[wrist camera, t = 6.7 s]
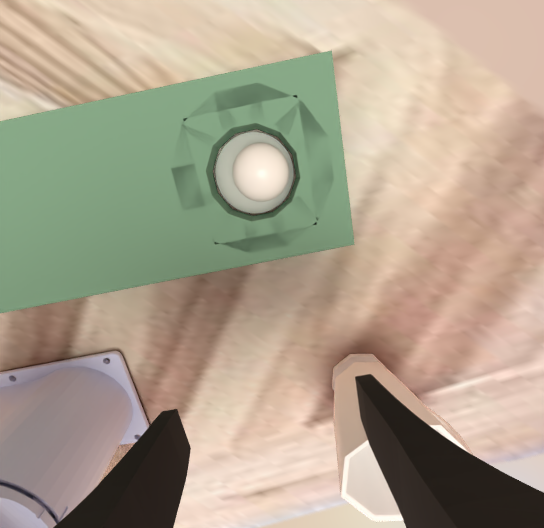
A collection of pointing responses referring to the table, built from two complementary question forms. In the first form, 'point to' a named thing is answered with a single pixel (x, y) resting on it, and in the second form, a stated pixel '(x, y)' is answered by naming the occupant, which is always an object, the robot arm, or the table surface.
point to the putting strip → (168, 183)
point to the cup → (354, 444)
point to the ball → (260, 172)
